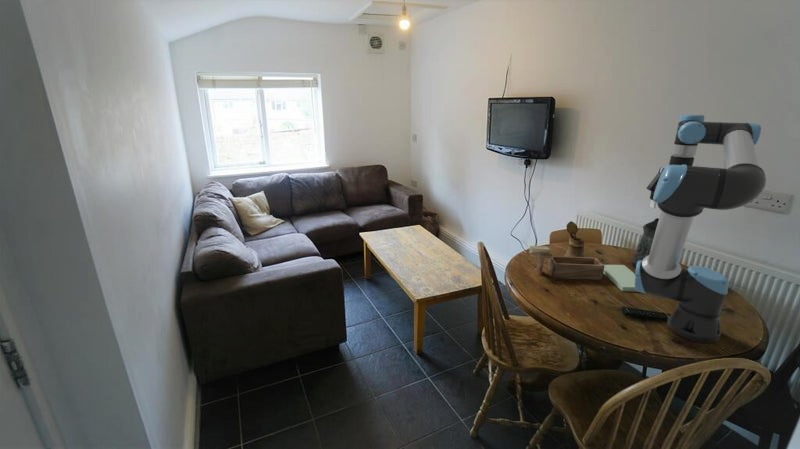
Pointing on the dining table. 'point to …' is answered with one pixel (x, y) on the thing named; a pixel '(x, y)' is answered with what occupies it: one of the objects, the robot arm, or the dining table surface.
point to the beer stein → (645, 242)
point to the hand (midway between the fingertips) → (669, 208)
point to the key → (539, 250)
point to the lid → (621, 277)
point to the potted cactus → (574, 242)
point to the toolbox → (571, 267)
